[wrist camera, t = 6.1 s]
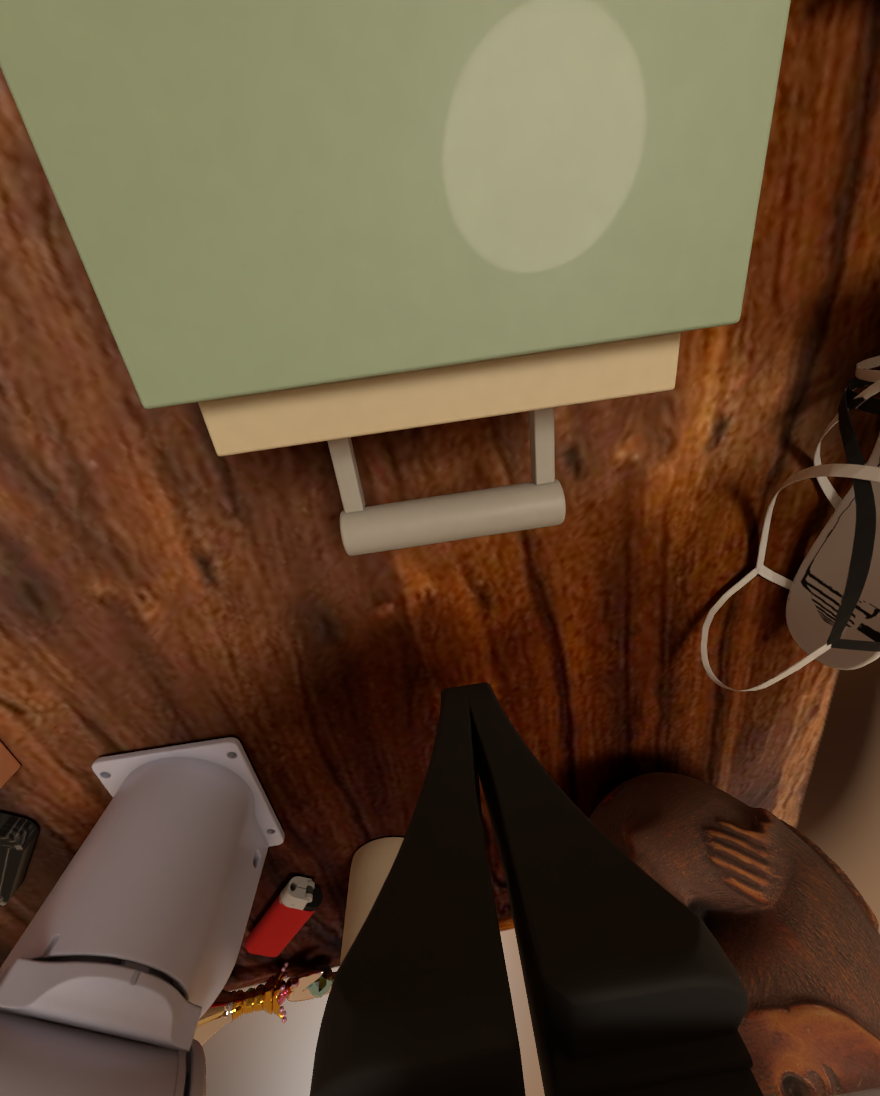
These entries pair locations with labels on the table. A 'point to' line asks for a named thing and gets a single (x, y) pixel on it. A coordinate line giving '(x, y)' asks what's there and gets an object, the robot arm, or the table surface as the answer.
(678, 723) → the table surface
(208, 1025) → the decorative bottle
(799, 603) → the sandal
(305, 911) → the lighter
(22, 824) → the phone
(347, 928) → the candle
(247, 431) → the drawer
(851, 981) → the brown animal pot
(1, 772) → the control block
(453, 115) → the cabinet
